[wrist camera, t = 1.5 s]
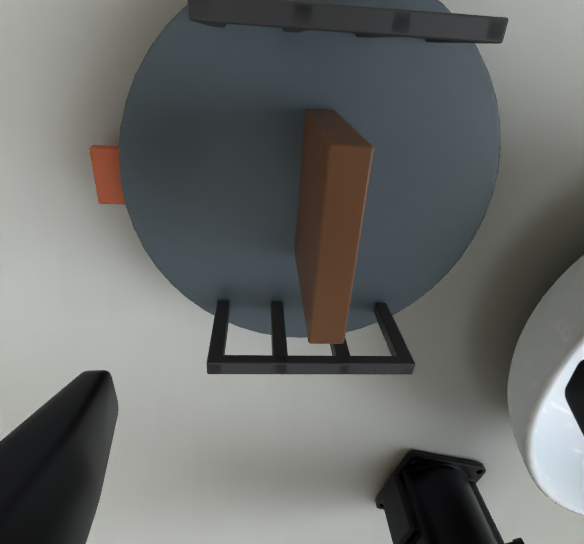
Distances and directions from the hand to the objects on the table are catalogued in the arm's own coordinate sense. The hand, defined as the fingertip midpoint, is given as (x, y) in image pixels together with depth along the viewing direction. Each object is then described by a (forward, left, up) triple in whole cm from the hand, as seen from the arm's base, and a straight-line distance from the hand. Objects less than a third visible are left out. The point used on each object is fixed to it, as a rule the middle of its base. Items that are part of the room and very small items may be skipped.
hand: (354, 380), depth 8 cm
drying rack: (0, 0, -12) cm, 12 cm away
